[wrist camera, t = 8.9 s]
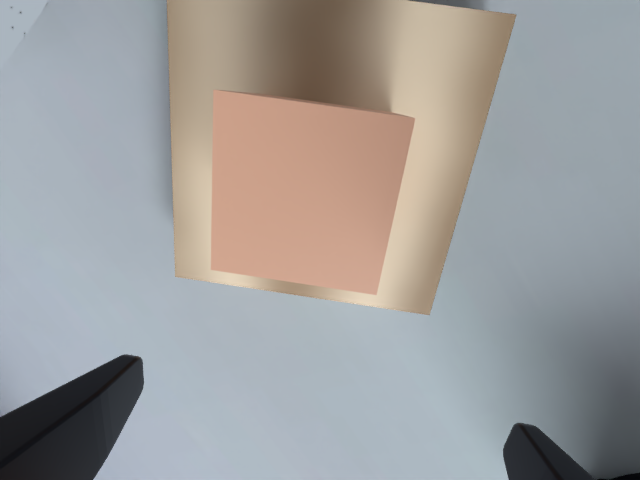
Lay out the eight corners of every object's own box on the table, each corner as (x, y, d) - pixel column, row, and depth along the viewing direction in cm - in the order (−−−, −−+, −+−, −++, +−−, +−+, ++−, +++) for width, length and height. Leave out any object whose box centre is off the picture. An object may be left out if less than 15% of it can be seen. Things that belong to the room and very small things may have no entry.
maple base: (484, 31, 15) (516, 14, 12) (417, 283, 19) (429, 315, 16) (200, -7, 15) (165, -32, 12) (200, 251, 19) (175, 276, 16)
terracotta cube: (391, 112, 13) (415, 118, 9) (367, 235, 15) (376, 295, 10) (260, 93, 13) (213, 89, 9) (253, 218, 15) (210, 269, 10)
